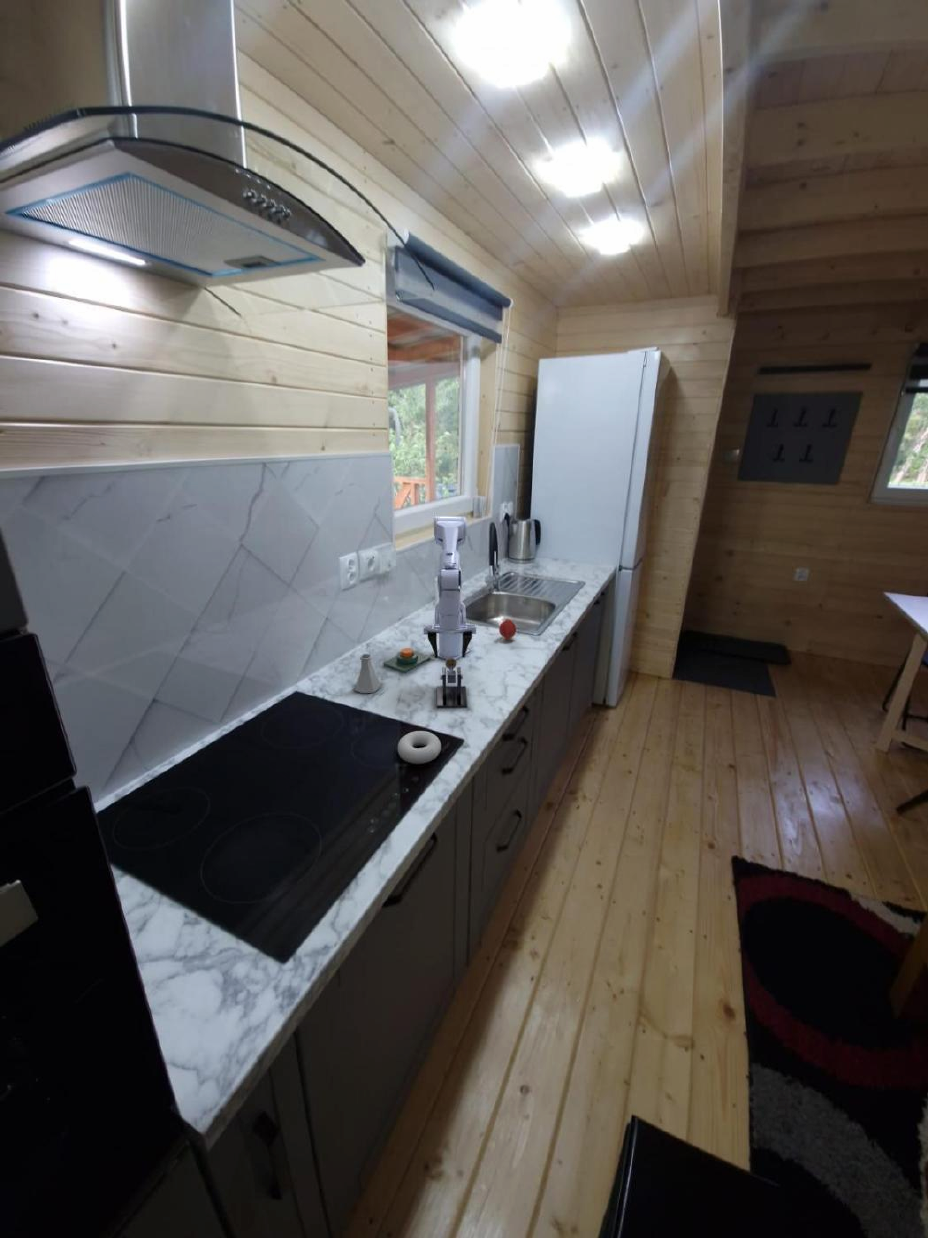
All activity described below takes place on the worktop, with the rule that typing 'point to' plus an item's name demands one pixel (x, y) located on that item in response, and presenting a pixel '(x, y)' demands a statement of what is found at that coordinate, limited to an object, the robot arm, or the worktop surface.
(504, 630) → the onion
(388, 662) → the control block
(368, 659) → the flask
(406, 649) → the button
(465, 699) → the bracket
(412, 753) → the donut
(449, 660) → the lever
